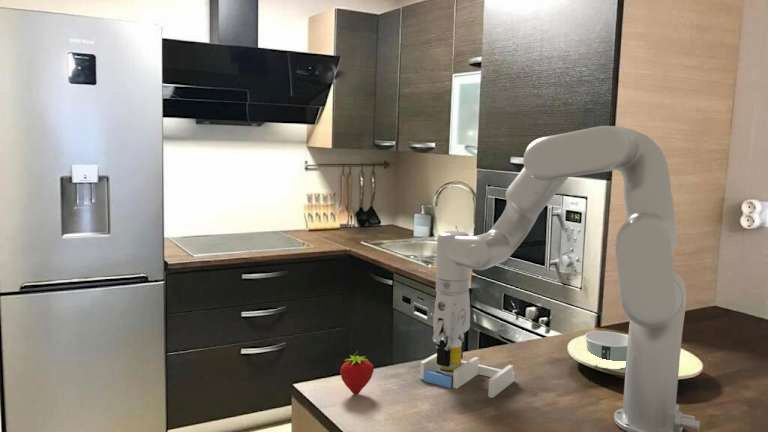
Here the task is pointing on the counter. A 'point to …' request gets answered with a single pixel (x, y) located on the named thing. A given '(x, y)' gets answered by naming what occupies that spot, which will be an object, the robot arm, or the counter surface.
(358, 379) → the strawberry
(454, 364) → the supplement bottle
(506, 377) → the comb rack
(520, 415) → the counter surface
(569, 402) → the counter surface
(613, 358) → the food container
